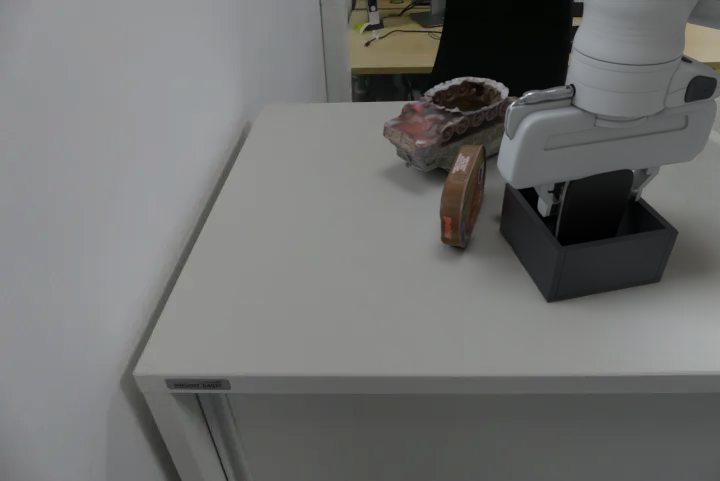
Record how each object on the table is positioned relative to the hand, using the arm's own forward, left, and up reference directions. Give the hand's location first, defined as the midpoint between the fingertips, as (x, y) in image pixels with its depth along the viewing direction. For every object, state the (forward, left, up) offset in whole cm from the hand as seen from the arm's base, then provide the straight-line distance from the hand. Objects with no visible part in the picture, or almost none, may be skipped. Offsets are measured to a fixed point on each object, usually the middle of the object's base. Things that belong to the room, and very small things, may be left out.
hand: (587, 205), depth 59 cm
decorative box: (+6, -22, -7) cm, 24 cm away
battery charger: (0, 0, -6) cm, 6 cm away
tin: (+10, -9, -7) cm, 15 cm away
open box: (0, 0, -7) cm, 7 cm away
